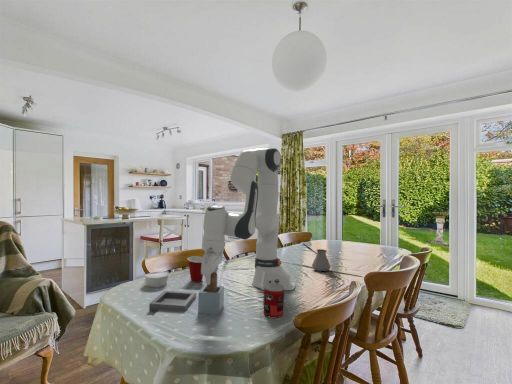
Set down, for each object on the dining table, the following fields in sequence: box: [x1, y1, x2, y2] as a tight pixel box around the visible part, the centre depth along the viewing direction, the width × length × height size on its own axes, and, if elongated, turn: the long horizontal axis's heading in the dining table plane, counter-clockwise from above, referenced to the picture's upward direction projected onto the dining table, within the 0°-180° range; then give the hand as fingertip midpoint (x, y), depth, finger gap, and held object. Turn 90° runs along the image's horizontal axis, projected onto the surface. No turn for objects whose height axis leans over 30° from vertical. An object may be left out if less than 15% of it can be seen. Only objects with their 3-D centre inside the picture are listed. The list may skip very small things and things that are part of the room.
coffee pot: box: [301, 243, 331, 272], centre depth 183 cm, size 21×12×15 cm, turn 43°
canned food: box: [263, 284, 285, 318], centre depth 113 cm, size 8×8×11 cm
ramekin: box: [144, 271, 169, 288], centre depth 143 cm, size 11×11×5 cm
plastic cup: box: [187, 255, 204, 283], centre depth 152 cm, size 11×11×12 cm
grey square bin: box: [197, 284, 225, 315], centre depth 113 cm, size 8×8×9 cm
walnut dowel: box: [206, 273, 218, 292], centre depth 113 cm, size 4×4×14 cm
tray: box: [148, 290, 197, 312], centre depth 119 cm, size 15×15×3 cm
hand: (211, 280), depth 113 cm, fingers open, 8 cm apart
